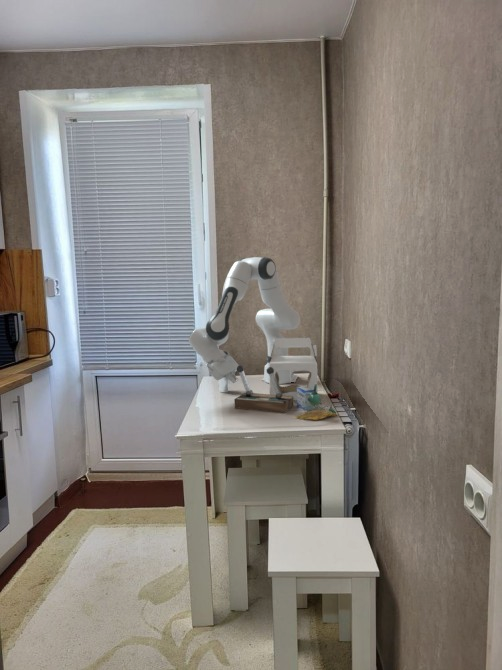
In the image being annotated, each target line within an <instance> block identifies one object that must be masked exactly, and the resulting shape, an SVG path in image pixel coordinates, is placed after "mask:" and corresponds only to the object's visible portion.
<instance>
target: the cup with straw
mask: <svg viewBox="0 0 502 670" xmlns="http://www.w3.org/2000/svg"><path fill="white" fill-rule="evenodd" d="M217 381H218V388H219V392H220V393H228V392H230V382H231V381H230V380H229V379H227V378H226V377H224V378H222V379H220V380H217Z"/></svg>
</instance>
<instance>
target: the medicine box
mask: <svg viewBox="0 0 502 670" xmlns="http://www.w3.org/2000/svg"><path fill="white" fill-rule="evenodd" d="M300 386H301V385H300ZM310 390H311V392H310ZM313 392H314V390H312V389H310V388H308V387H307V385H305V386H304V385H303V386H301V387H297V400H296V406H297V407H298V408H300V409H302V410H303V411H304V412H307V410H308V411H314V410H315V407H314V406H313V405H312V406H313V407H312V406H311V404H308V403H310V402H309V401H308V398H309V394H310V393H313ZM306 401H307V403H305V402H306ZM309 406H311V407H310V408H309ZM308 408H309V409H308ZM311 408H312V409H311Z"/></svg>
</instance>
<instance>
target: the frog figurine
mask: <svg viewBox="0 0 502 670" xmlns="http://www.w3.org/2000/svg"><path fill="white" fill-rule="evenodd" d="M316 388H317V389H318V383H317V384H315V385H314V392H313V393H310V394H309V398H308V401H309V402H310V403H308V404H311V406H312V405H313V406H314V408H315V407H316V409H317V410H306V411H304V412H303V413H302V414H300V415H296V416H295V419H300V420H303V419H304V420H312V421H318V420H323V419H324V418H327V417H329V416H332V417H335V416H334V415H337V416H339V414H338V413H337V412H336V411H337V410H335V409H334V407H332V406H333V405H332V404H330V406H328V405H325V406H323V407H320V405H322V404H323V403H322V400H321V399H322V398H321V396H320V394H319V392H318V391H317V392H316ZM310 392H311V390H310ZM305 403H307V401H306V402H305ZM318 405H319V406H318ZM311 406H309V408H310V407H311ZM313 406H312V407H313ZM325 407H327V408H328V410H323V409H325ZM309 408H308V409H309ZM311 409H312V408H311ZM319 409H320V410H319ZM304 420H303V421H304Z"/></svg>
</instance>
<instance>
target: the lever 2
mask: <svg viewBox="0 0 502 670" xmlns="http://www.w3.org/2000/svg"><path fill="white" fill-rule="evenodd" d="M273 372H274V369H273V368H272V367H268V368H267V373H268V374H269V376H270V379H271V381H272V384H273V387H274V390H275V392H276V398H277V399H280V398H281V397H282V396H283V394H282V393H281V392H280V389H279V387H278V384H277V381H276V378H275V375H274V373H273Z"/></svg>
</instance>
